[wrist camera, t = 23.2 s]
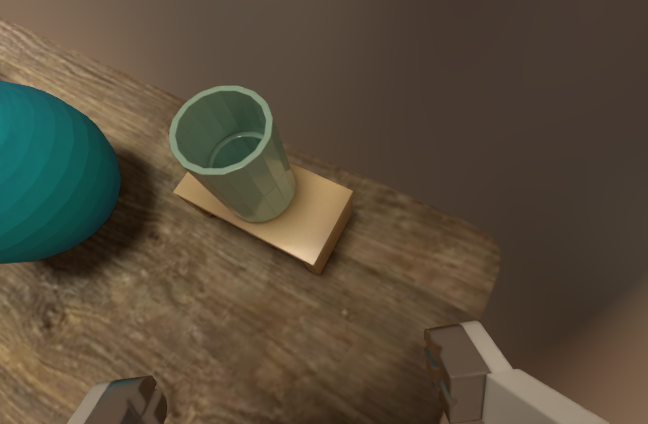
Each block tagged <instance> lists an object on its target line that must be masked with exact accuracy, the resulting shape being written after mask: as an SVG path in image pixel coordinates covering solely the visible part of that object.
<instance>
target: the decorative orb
mask: <svg viewBox="0 0 648 424" xmlns="http://www.w3.org/2000/svg"><path fill="white" fill-rule="evenodd" d="M120 184H121V178H120V172H119V166H118V160H117V156H116V154H115V152H114V150H113V148H112V147H111V145H110V143H109V142H108V140H107V139H106V137H105V136H104V134H103V133H102V132H101V130H100V129H99V128H98V126H97V125H96V124H95V123H94V122H93V121H91V120H90V119H89V118H88V117H87V116H86V115H84V114H83V113H81V112H80V111H78V110H77V109H75V108H73V107H72V106H70V105H69V104H67V103H65V102H64V101H62V100H61V99H59V98H57V97H55V96H53V95H51V94H49V93H47V92H45V91H42V90H39V89H36V88H32V87H29V86H25V85H20V84H15V83H9V82H4V81H0V264H6V263H19V262H32V261H36V260H41V259H45V258H48V257H50V256H53V255H56V254H58V253H61V252H63V251H66V250H68V249H71V248H73V247H76V246H77V245H79V244H80V243H81V242H83V241H84V240H86V239H87V238H88V237H90V236H91V235H93V234H94V233H95V232H97V231H98V229H99V228H100V227H101V226H102V225H103V224H104V223H105V221H106V220H107V219H108V218H109V217H110V215H111V213H112V211H113V209H114V207H115V205H116V203H117V200H118V195H119V190H120Z"/></svg>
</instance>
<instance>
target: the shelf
mask: <svg viewBox="0 0 648 424" xmlns="http://www.w3.org/2000/svg"><path fill="white" fill-rule="evenodd" d="M289 164H290V167H291V170H292V173H293V175H294V178H295V182H296V183H295V194H294V196H293V198H292V200H291V202H290V204H289V206H288V207H287V208H286V209H285V210H284V211H283V212H281V213H280V214H279V215H278V216H276V217H275V218H272V219H269V220H267V221H264V222H248V221H245V220H243V219H241V218H239V217H236V216H235V215H234V214H233V213H232V212H230V211H229V210H228V209H227V208H226V207H225V206H224V205H223V204H222V203H221V202H220V201H219V200H218V199H217V198H216V197H215V196H214V195H212V194H211V193H210V192H209V191H208V190H207V189H206V188H205V187H204V186H203V185H202V184H201V183H200V182H199V181H198V180H197V179H196V178H194V177H193V176H192V175H191V174H190V173H189V172H187V174H186V175H185V176H184V178H183V179H182V180H181V182H180V183H179V185H178V186H177V187H176V189H175V190H174V191H173V193H175V194H176V195H177V196H179V197H180V198H181V199H183V200H184V201H185V202H187V203H188V204H189V205H191V206H192V207H193V208H195V209H196V210H197V211H199V212H200V213H202V214H203V215H205V216H207V217H209V218H210V217H211V216H212V215H214V216H216V217H218V218H220V219H222V220H224V221H226V222H228V223H230V224H231V225H233V226H235V227H237V228H239V229H241V230H243V231H245V232H247V233H249V234H250V235H252V236H254V237H256V238H258V239H260V240H262V241H264V242H266V243H268V244H270V245H271V246H273V247H275V248H277V249H279V250H281V251H283V252H285V253H287V254H289V255H291V256H292V257H294V258H296V259H298V260H300V261H302V262H303V263H304V264H305V265H306V267H307V268H308V270H310V271H311V272H313V273H315V274H317V275H320V273H321V271H322V269H323V268H324V266H325V264H326V262H327V260H328V258H329V256H330V254H331V252H332V250H333V248H334V246H335V245H336V243H337V241H338V239H339V237H340V235H341V233H342V231H343V229H344V227H345V225H346V224H347V222H348V220H349V218H350V216H351V214H352V200H353V191H352V190H350V189H347V188H345V187H343V186H341V185H338V184H336V183H334V182H332V181H330V180H327V179H325V178H323V177H321V176H318V175H316V174H314V173H312V172H309V171H307V170H305V169H303V168H301V167H298V166H296V165H294V164H292V163H289Z"/></svg>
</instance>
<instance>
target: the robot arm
mask: <svg viewBox="0 0 648 424" xmlns="http://www.w3.org/2000/svg"><path fill="white" fill-rule="evenodd" d="M424 340H425V342H426V344H427V347H426V348H425V349H424V352H425V361H426V366H427V369H428V372H429V375H430V378H431V380H432V383H433V384H434V385H435V386H436V387H438V388H439V400H440V402H441V405H442V407H443V409H444V412H445V414H446V416H447V418H448V421H449V423H450V424H452V423H461V422H467V421H476V420H482V422H483V423H484V424H610V423H609V422H607V421H605V420H604V419H602V418H600V417H599V416H597V415H595V414H594V413H592V412H590V411H589V410H587V409H585V408H584V407H582V406H580V405H578V404H577V403H575V402H574V401H572V400H570V399H569V398H567V397H565V396H563V395H562V394H560V393H559V392H557V391H555V390H554V389H552V388H550V387H548V386H547V385H545V384H543V383H542V382H540V381H539V380H537V379H535V378H534V377H532V376H530V375H529V374H527V373H525V372H524V371H522V370H520V369H514V370H513V369H512V367H511V366H510V364H509V363H508V361H507V360H506V359H505V357H504V356H503V354H502V353H501V352H500V350H499V349H498V347H497V346H496V345H495V343H494V342H493V340H492V339H491V338H490V336H489V335H488V333H487V332H486V331H485V329H484V328H483V326H482V325H481V324H480V323H479V322H478V321H470V322H464V323H459V324H451V325H446V326H440V327H434V328H429V329H425V331H424ZM156 384H157V382H156V381H155V379H154V378H153V376H142V377H135V378H128V379H121V380H114V381H108V382H101V383H97V384H96V385H94V386H93V387H92V388H91V389H90V390H89V392H88V393H87V395H86V396H85V398H84V399H83V401H82V402H81V404H80V405H79V407H78V408H77V410H76V411H75V412H74V414H73V415H72V417H71V418H70V420H69V421H68V423H67V424H164V421H165V418H166V413H167V402H166V398H165V396H164V394H163V393H162V392H160V391H159V390H157V389H155V386H156Z"/></svg>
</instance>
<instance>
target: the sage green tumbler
mask: <svg viewBox="0 0 648 424" xmlns="http://www.w3.org/2000/svg"><path fill="white" fill-rule="evenodd" d="M169 141H170V146H171V151H172V154H173V155H174V157H175V158H176V159H177V160H178V161H179V163H180V164H181V165H182V166H183V167H184V168H185V169H186V170H187V171H188V172H189V173H190V174H191V175H192V176H193V177H194V178H196V179H197V180H198V181H199V182H200V183H201V184H202V185H203V186H204V187H205V188H206V189H207V190H208V191H209V192H210V193H211V194H212V195H214V196H215V197H216V198H217V199H218V200H219V201H220V202H221V203H222V204H223V205H224V206H225V207H226V208H227V209H228V210H229V211H230V212H232V213H233V214H234V215H235V216H236V217H239V218H241V219H243V220H245V221H248V222H264V221H267V220H269V219H272V218H275V217H276V216H278V215H279V214H280V213H281V212H283V211H284V210H285V209H286V208H287V207H288V206H289V204H290V202H291V200H292V198H293V196H294V194H295V183H296V182H295V178H294V175H293V173H292V170H291V167H290V164H289V162H288V159H287V156H286V153H285V150H284V148H283V145H282V142H281V139H280V137H279V134H278V131H277V128H276V126H275V123H274V120H273V117H272V115H271V112H270V109H269V106H268V104H267V102H265V101H264V100H263V99H262V98H261V97H260V96H259V95H258V94H257V93H255V92H254V91H252V90H249V89H246V88H243V87H240V86H217V87H214V88H211V89H209V90H205V91H202V92H200V93H198V94H197V95H196V96H194V97H193V98H191V99H190V100H189V101H187V102H186V103H184V104H183V106H182V107H181V109H180V110H179V111H178V113H177V114H176V116H175V117H174V118H173V120H172V124H171V129H170V133H169Z"/></svg>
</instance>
